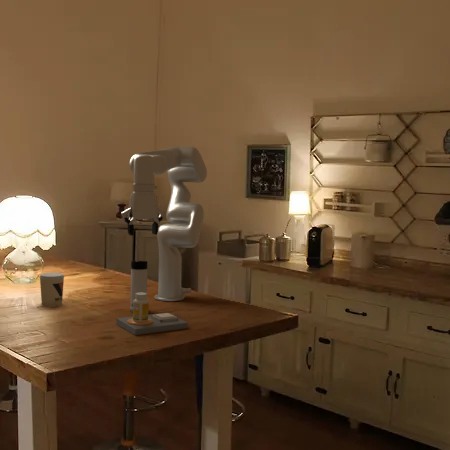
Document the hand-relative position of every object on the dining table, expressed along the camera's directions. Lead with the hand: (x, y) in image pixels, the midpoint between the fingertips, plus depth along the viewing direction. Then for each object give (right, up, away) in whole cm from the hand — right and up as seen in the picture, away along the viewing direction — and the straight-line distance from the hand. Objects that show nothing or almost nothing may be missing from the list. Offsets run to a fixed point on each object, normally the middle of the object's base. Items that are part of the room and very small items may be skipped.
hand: (143, 234), depth 242 cm
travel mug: (-3, -30, +8) cm, 31 cm away
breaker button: (+9, -31, -11) cm, 34 cm away
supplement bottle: (+1, -30, -16) cm, 34 cm away
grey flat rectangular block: (+5, -32, -13) cm, 35 cm away
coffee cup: (-38, -28, +15) cm, 50 cm away
